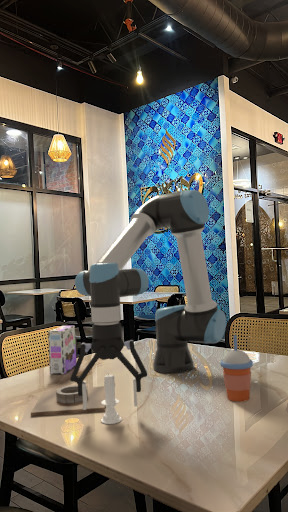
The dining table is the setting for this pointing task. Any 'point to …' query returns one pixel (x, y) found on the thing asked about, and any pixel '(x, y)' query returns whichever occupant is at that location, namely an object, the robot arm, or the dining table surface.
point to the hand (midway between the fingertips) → (110, 406)
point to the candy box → (62, 349)
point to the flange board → (69, 401)
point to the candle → (110, 401)
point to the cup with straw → (237, 374)
